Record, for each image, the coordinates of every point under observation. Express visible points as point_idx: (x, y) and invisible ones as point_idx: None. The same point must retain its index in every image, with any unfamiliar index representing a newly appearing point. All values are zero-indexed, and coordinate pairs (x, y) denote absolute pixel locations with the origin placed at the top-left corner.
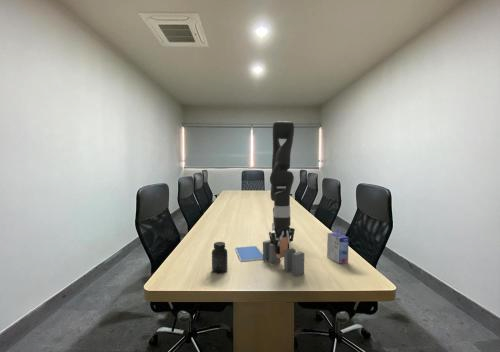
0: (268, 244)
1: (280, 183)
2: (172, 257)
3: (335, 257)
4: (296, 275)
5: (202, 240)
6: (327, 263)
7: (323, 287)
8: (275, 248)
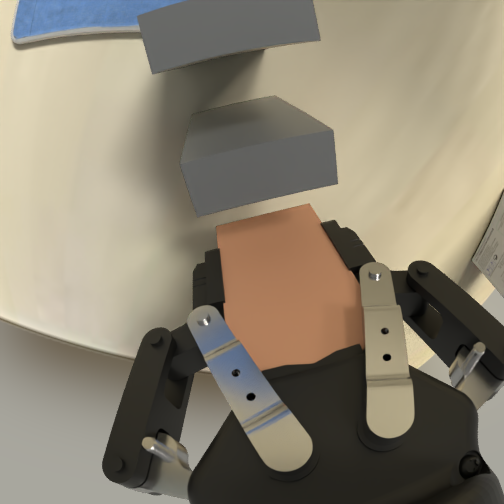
0: (216, 56)
1: None
2: None
3: (491, 253)
4: None
5: None
6: (455, 242)
7: None
8: (196, 300)
